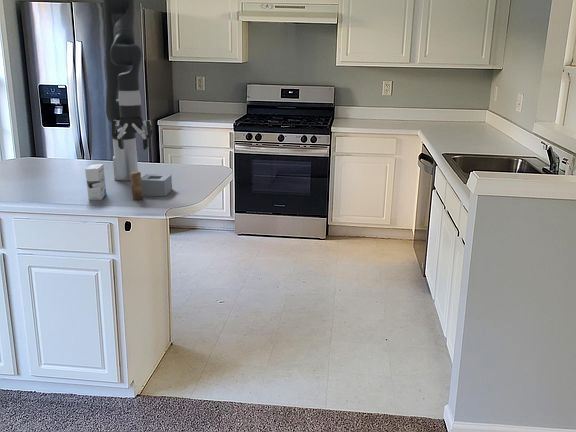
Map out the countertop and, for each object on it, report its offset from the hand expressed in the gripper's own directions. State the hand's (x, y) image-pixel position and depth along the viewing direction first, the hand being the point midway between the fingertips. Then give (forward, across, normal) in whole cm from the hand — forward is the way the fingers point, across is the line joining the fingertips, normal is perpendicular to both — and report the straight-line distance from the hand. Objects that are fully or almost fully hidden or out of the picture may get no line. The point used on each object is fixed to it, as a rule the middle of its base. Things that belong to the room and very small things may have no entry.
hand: (133, 149), depth 203 cm
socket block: (+19, +4, +10) cm, 22 cm away
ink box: (+19, -16, +2) cm, 25 cm away
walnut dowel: (+19, 0, 0) cm, 19 cm away
